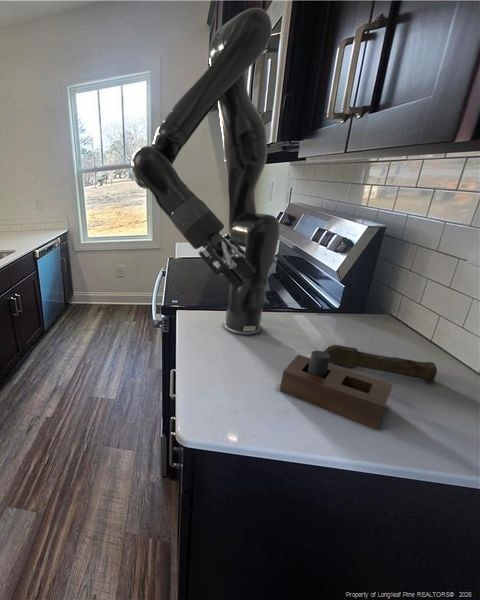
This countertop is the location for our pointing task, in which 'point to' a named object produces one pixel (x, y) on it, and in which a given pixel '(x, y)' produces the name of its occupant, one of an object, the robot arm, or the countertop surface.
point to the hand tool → (381, 362)
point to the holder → (338, 391)
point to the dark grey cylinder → (319, 363)
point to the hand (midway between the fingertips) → (246, 280)
